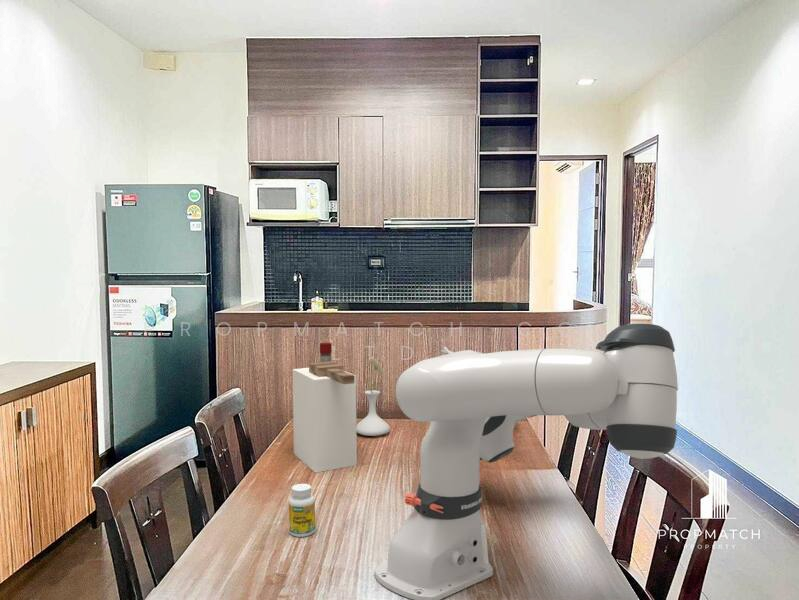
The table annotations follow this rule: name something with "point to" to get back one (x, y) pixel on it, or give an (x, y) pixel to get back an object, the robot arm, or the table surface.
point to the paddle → (331, 372)
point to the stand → (324, 421)
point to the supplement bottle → (301, 511)
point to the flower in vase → (373, 410)
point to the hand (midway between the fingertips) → (428, 360)
